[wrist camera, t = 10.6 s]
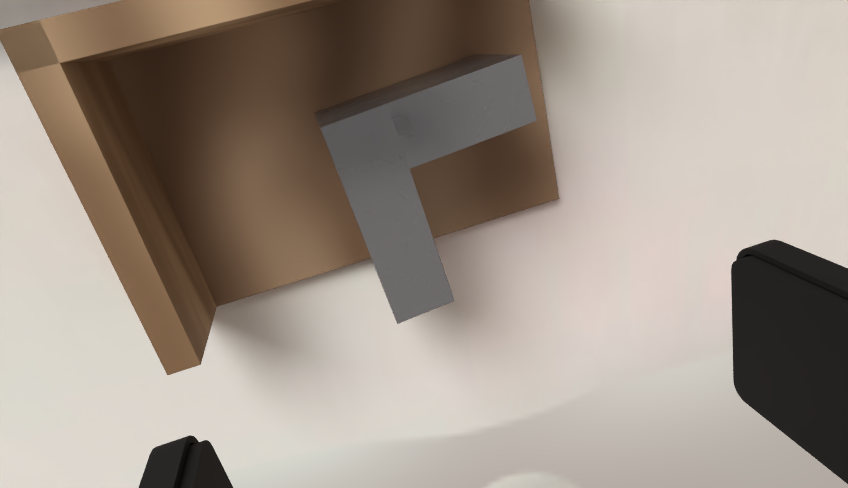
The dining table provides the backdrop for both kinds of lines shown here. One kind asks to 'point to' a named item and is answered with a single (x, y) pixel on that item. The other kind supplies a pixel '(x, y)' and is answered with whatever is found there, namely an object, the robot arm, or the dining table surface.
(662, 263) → the dining table surface
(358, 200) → the bracket
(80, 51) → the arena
